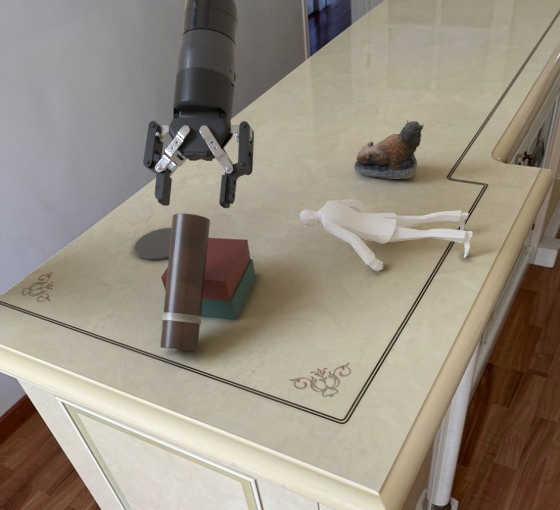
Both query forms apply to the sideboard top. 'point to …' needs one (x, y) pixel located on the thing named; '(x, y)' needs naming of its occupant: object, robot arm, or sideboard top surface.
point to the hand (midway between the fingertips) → (193, 205)
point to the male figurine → (381, 226)
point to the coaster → (154, 245)
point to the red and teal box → (225, 278)
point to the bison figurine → (391, 154)
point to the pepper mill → (185, 282)
